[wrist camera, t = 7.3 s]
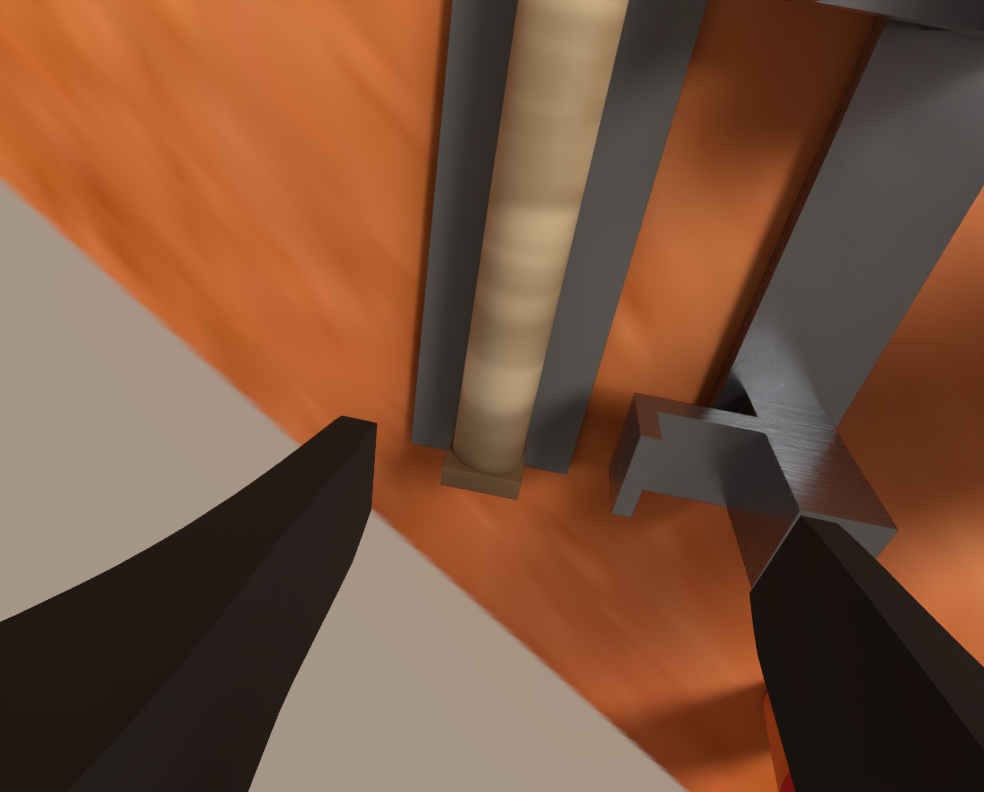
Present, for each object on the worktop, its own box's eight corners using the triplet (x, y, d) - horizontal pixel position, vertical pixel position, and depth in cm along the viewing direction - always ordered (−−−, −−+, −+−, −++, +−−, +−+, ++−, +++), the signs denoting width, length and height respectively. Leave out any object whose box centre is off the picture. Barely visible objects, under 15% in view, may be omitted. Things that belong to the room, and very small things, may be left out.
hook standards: (1182, -180, 11) (1664, -346, 6) (786, 490, 21) (850, 634, 16) (827, -240, 11) (1020, -447, 6) (599, 453, 21) (605, 583, 16)
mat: (800, -323, 11) (807, -335, 11) (567, 467, 22) (566, 474, 22) (491, -374, 11) (488, -386, 11) (413, 436, 22) (411, 442, 22)
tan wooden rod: (568, -328, 11) (564, -415, 9) (701, -306, 11) (731, -388, 9) (455, 437, 21) (440, 484, 19) (523, 452, 21) (516, 500, 19)
